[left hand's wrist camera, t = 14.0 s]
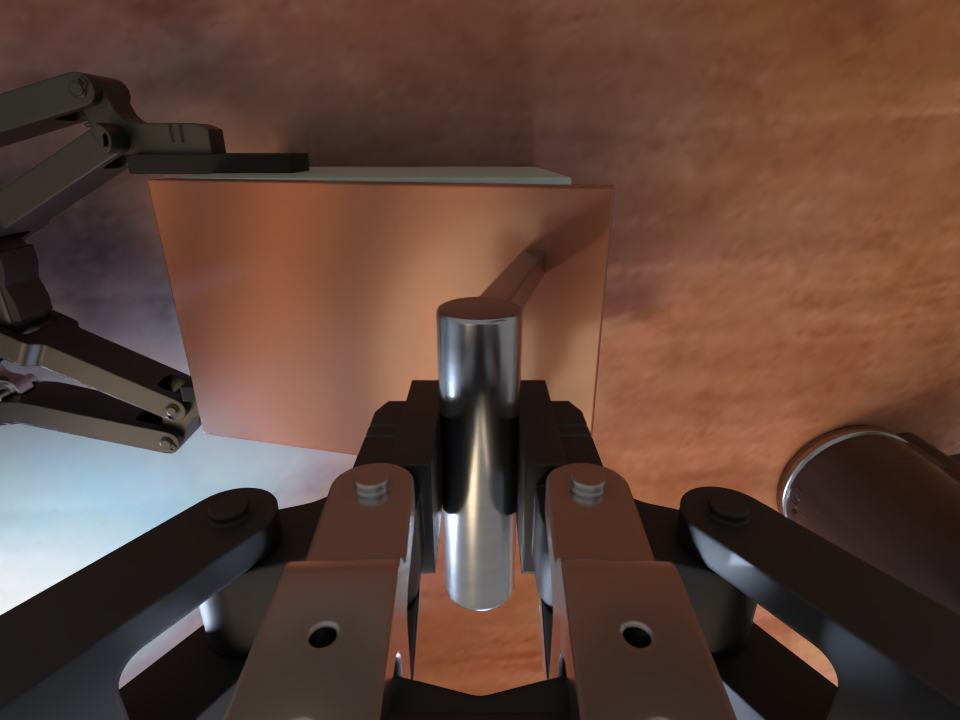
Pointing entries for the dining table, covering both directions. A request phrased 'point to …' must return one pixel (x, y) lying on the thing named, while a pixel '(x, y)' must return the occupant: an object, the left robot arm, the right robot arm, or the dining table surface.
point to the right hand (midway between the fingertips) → (314, 280)
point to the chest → (410, 174)
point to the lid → (392, 323)
